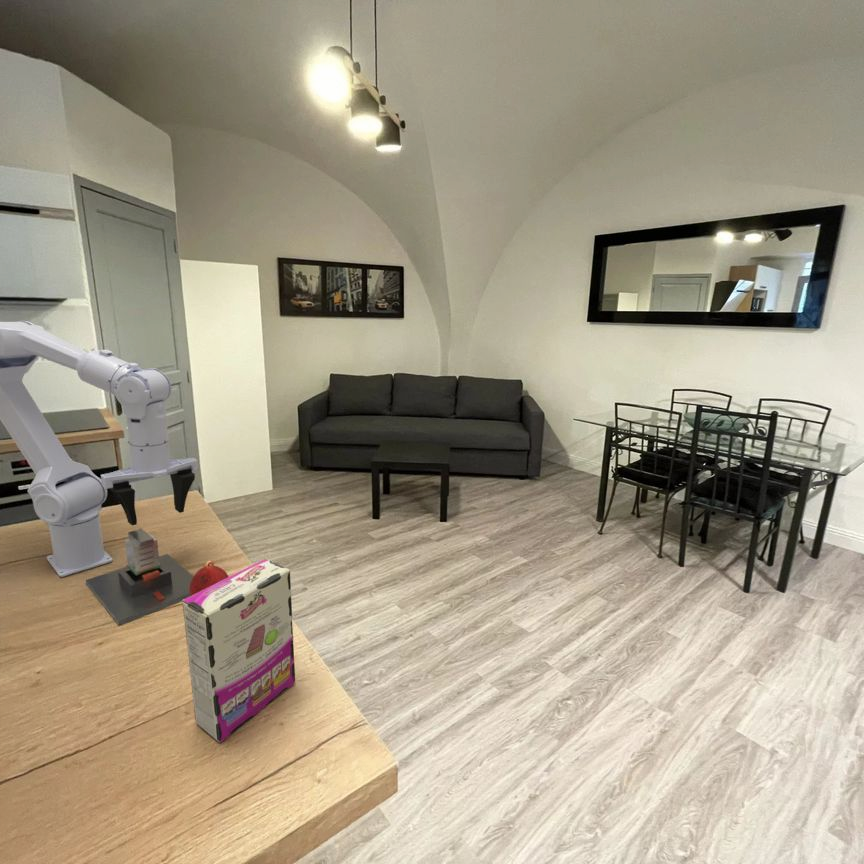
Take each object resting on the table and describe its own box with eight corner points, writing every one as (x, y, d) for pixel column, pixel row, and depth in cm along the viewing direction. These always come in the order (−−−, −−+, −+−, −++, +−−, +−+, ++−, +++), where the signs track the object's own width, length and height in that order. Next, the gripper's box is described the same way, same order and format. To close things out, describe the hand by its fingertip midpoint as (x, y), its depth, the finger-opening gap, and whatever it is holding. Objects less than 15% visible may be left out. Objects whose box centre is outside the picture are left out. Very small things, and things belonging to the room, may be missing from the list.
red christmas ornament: (216, 621, 73) (212, 574, 71) (183, 614, 74) (178, 568, 72) (238, 599, 79) (235, 555, 77) (207, 594, 80) (204, 550, 78)
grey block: (125, 565, 80) (122, 533, 79) (150, 557, 83) (147, 527, 82) (137, 577, 77) (133, 544, 76) (162, 568, 80) (159, 536, 79)
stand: (86, 584, 81) (83, 564, 80) (167, 557, 91) (166, 539, 90) (119, 625, 71) (116, 603, 70) (206, 591, 81) (205, 570, 80)
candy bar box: (270, 667, 64) (265, 556, 60) (296, 683, 62) (293, 568, 58) (191, 725, 55) (179, 597, 51) (218, 746, 52) (208, 614, 49)
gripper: (107, 455, 73) (117, 537, 76) (203, 439, 84) (208, 512, 87) (93, 445, 77) (103, 523, 81) (185, 432, 88) (191, 501, 91)
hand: (156, 516), depth 84 cm, fingers open, 7 cm apart
